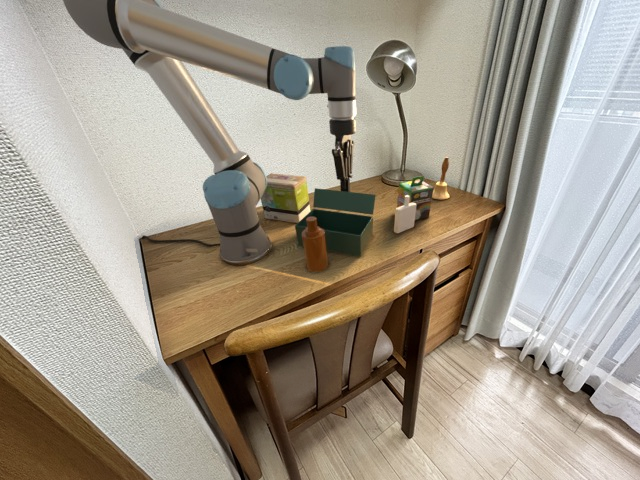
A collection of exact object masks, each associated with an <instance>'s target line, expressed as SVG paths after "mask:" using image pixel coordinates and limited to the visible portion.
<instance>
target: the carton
mask: <svg viewBox="0 0 640 480" xmlns="http://www.w3.org/2000/svg"><path fill="white" fill-rule="evenodd" d="M308 217H316V219H317V226H318V227H320V228H322V229H323V230H324V231H325V241H326V250H327V251H329V252H332V253H338V254H339V253H340V254H344V255H349V256H355V257H362V256H363V254H364V252H365V250H366V248H367V247H368V245H369V243H370V242H371V240H372V238H373V235H374V234H373V233H374V232H373V231H374V216H373V215H371V216H370V215H365V214H358V213H350V212H343V211H335V210H333V211H332V210H328V209H320V208H313V209H311V210H310V212H309V213H308V214H307V215H306V216H305V217H304V218H303V219H302V220H301V221H300V222H298V223H295V225H294V228H295V235H296V241H297V245H298V246H301V247H304V245H303V239H302V232H303V231H304V230H305V229H306V228H307V222H306V218H308Z"/></svg>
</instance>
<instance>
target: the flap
mask: <svg viewBox="0 0 640 480" xmlns="http://www.w3.org/2000/svg"><path fill="white" fill-rule="evenodd" d="M376 197H377V195H376V194H373V193H363V192H353V191H350V192H345V191H341V190H334V189H325V188H316V187H314V193H313V203H312V204H313V205H312V207H313V208H316V209H324V210H333V211H339V212H347V213H355V214H362V215H371V216H373V215H374V210H375V203H376Z"/></svg>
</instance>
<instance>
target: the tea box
mask: <svg viewBox="0 0 640 480" xmlns="http://www.w3.org/2000/svg"><path fill="white" fill-rule="evenodd" d="M266 177H267V187H266V191H265V193H264V195H263V196H262V197H261V199H260V203H261V206H262V211H263V214H264V217H265V219H266V220H276V221H282V222H287V223H288V222H289V223H292V224H293V223H294V224H297V223H298V222H300V221H301V220H302V219H303V218H304V217H305V216H306V215H307V214H308V213H309V212H310V211H311V205H310V196H309V189H308V180H307V176H302V175H293V174H282V173H273V172H272V173H269V174H268V175H266Z"/></svg>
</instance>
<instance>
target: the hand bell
mask: <svg viewBox="0 0 640 480" xmlns="http://www.w3.org/2000/svg"><path fill="white" fill-rule="evenodd" d="M449 158H450V157H449V156H445V157H444V159H443V161H442V164H441V176H440V180H439V181H438V182H436V183H435V186H434V189H433V195H432V199H435V200H439V201H440V200H441V201H442V200H443V201H444V200H448V199H450V194H449V193H448V184H447V183H446V182H445V181H446V174H447V172H448V170H449V166H450V159H449Z"/></svg>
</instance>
